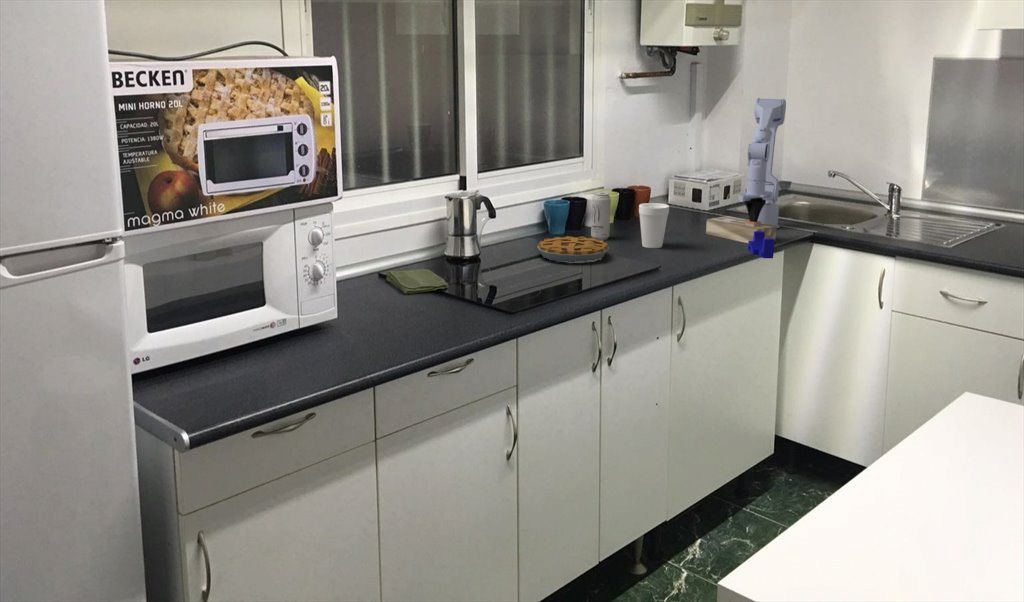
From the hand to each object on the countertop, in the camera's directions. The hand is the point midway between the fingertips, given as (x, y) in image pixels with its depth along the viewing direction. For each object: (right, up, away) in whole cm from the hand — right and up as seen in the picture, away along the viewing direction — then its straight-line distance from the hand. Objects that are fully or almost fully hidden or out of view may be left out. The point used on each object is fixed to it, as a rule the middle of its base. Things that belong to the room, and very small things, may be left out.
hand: (753, 221), depth 322 cm
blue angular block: (-2, -12, -17) cm, 21 cm away
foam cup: (-34, -9, -8) cm, 36 cm away
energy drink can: (-50, -6, +2) cm, 50 cm away
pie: (-60, -13, -22) cm, 66 cm away
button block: (-3, -5, +6) cm, 8 cm away
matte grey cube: (-6, -3, +9) cm, 12 cm away
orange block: (0, -5, +1) cm, 5 cm away
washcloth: (-104, -22, -56) cm, 120 cm away
